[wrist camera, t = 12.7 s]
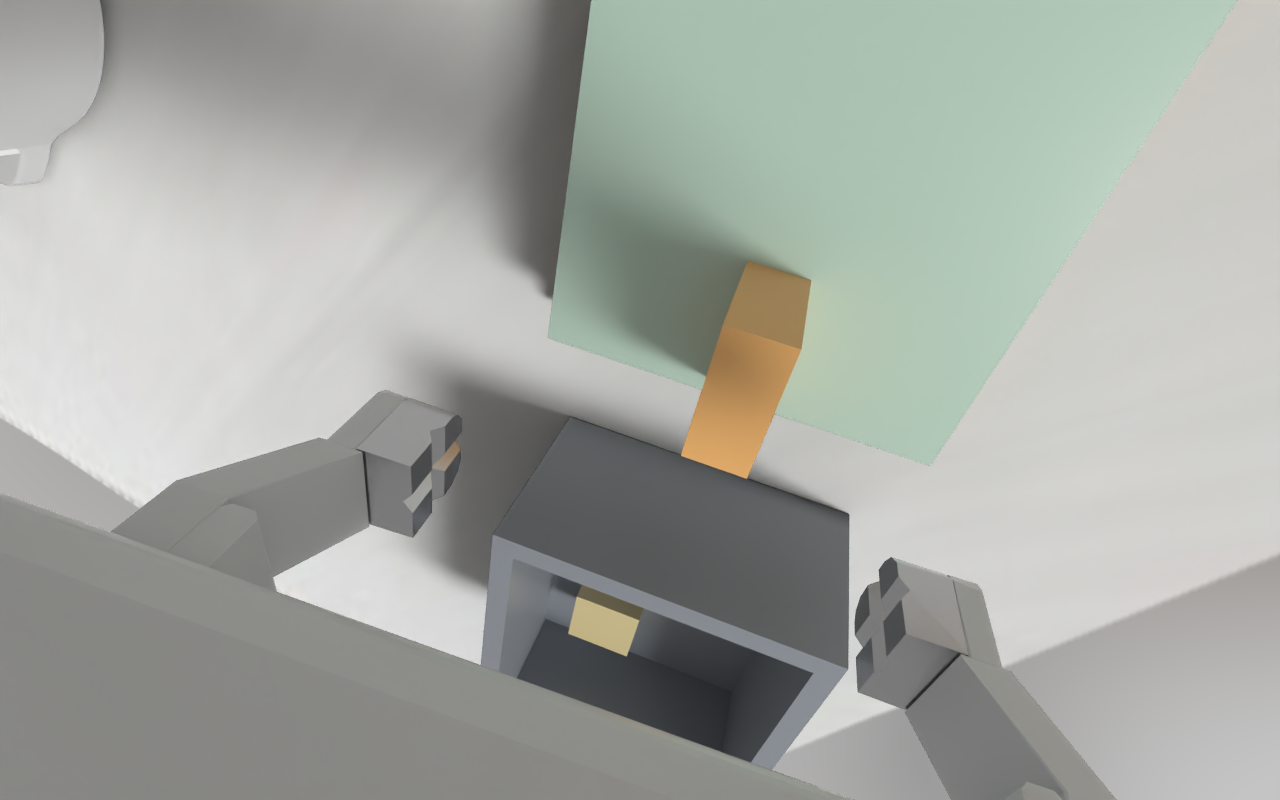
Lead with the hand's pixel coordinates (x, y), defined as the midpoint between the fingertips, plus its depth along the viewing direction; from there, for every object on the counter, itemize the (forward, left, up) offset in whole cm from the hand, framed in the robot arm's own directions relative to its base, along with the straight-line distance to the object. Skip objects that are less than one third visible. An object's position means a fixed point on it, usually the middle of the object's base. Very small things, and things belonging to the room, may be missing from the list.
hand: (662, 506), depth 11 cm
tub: (+1, -15, -11) cm, 19 cm away
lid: (+1, +5, -10) cm, 11 cm away
